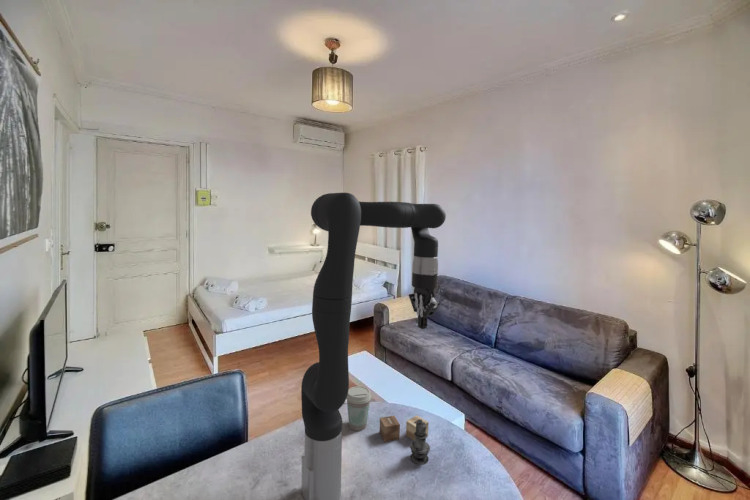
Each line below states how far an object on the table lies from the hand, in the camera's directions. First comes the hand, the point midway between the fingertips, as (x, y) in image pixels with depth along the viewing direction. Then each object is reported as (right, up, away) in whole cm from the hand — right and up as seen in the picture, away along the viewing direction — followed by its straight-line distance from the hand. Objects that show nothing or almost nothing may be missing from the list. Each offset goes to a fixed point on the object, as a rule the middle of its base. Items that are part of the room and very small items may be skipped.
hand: (422, 328), depth 103 cm
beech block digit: (-1, -37, +7) cm, 37 cm away
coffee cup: (-20, -36, +12) cm, 43 cm away
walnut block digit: (-10, -36, +7) cm, 38 cm away
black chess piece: (-1, -38, -3) cm, 38 cm away
